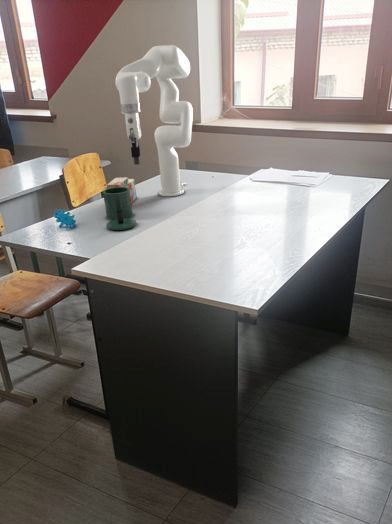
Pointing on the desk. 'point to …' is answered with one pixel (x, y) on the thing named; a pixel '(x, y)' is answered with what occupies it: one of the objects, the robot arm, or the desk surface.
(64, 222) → the gear
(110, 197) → the green hollow cylinder
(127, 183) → the stack of blocks
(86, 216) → the desk surface
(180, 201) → the desk surface
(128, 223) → the lid
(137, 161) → the cylinder
